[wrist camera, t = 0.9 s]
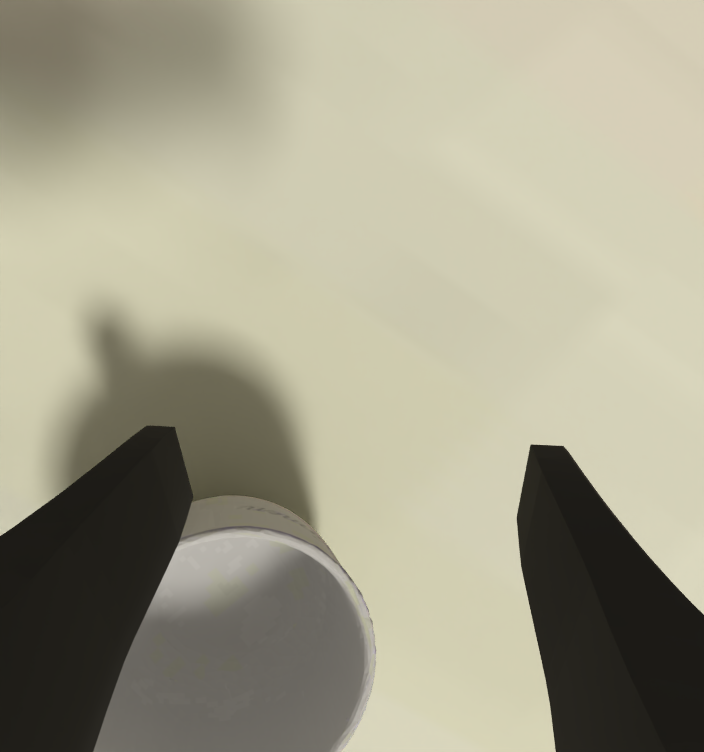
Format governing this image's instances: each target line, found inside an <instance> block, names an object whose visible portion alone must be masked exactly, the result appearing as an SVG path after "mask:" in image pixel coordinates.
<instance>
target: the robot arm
mask: <svg viewBox="0 0 704 752" xmlns="http://www.w3.org/2000/svg"><path fill="white" fill-rule="evenodd" d="M192 500H193V494H192V490H191V487H190V483H189V479H188V475H187V472H186V468H185V464H184V460H183V457H182V453H181V449H180V445H179V442H178V438H177V434H176V430H175V427H164V426H146V427H144V428H143V429H142V430H140V431H139V432H138V433H136V434H135V435H134V436H132V437H131V438H130V439H129V440H127V441H126V442H125V443H123V444H122V445H121V446H120V447H118V448H117V449H116V450H115V451H113V452H112V453H111V454H110V455H108V456H107V457H106V458H105V459H103V460H102V461H101V462H100V463H99V464H97V465H96V466H95V467H93V468H92V469H91V470H90V471H88V472H87V473H86V474H85V475H83V476H82V477H81V478H79V479H78V480H77V481H76V482H74V483H73V484H72V485H71V486H69V487H68V488H67V489H65V490H64V491H63V492H61V493H60V494H59V495H57V496H56V497H55V498H53V499H52V500H50V501H49V502H48V503H46V504H45V505H44V506H42V507H41V508H39V509H38V510H37V511H35V512H34V513H33V514H31V515H30V516H28V517H27V518H26V519H24V520H23V521H22V522H20V523H19V524H17V525H16V526H15V527H13V528H12V529H10V530H9V531H7V532H6V533H4V534H3V535H1V536H0V752H93V751H94V748H95V745H96V742H97V739H98V736H99V733H100V730H101V727H102V724H103V721H104V718H105V715H106V712H107V709H108V706H109V703H110V701H111V698H112V695H113V692H114V689H115V687H116V684H117V681H118V678H119V675H120V672H121V670H122V667H123V664H124V661H125V659H126V657H127V654H128V652H129V650H130V647H131V645H132V643H133V640H134V638H135V636H136V634H137V632H138V629H139V627H140V625H141V623H142V621H143V619H144V617H145V615H146V612H147V610H148V608H149V606H150V604H151V602H152V600H153V598H154V595H155V593H156V591H157V589H158V587H159V585H160V583H161V581H162V578H163V576H164V574H165V572H166V570H167V568H168V565H169V563H170V561H171V559H172V557H173V555H174V552H175V550H176V548H177V546H178V543H179V541H180V538H181V535H182V532H183V529H184V526H185V523H186V520H187V516H188V513H189V510H190V506H191V503H192ZM517 526H518V538H519V548H520V558H521V567H522V572H523V577H524V581H525V586H526V591H527V595H528V600H529V605H530V609H531V614H532V619H533V623H534V628H535V632H536V637H537V641H538V646H539V651H540V655H541V660H542V664H543V669H544V674H545V678H546V684H547V689H548V695H549V701H550V707H551V715H552V724H553V732H554V740H555V748H556V752H704V615H703V614H702V613H701V612H700V611H699V610H698V609H697V608H696V607H695V606H694V605H693V604H692V603H691V602H690V601H689V600H688V599H687V598H686V597H685V595H684V594H683V593H682V592H681V591H680V590H679V589H678V588H677V587H676V586H675V585H674V584H673V583H672V582H671V581H670V580H669V578H668V577H667V576H666V575H665V574H664V573H663V572H662V571H661V570H660V568H659V567H658V566H657V565H656V564H655V563H654V562H653V561H652V559H651V558H650V557H649V556H648V555H647V554H646V553H645V551H644V550H643V549H642V548H641V547H640V546H639V544H638V543H637V542H636V541H635V540H634V538H633V537H632V536H631V535H630V533H629V532H628V531H627V530H626V528H625V527H624V526H623V525H622V523H621V522H620V521H619V520H618V519H617V517H616V516H615V515H614V514H613V512H612V511H611V510H610V508H609V507H608V506H607V504H606V503H605V502H604V501H603V499H602V498H601V497H600V495H599V494H598V493H597V491H596V490H595V488H594V487H593V486H592V484H591V483H590V482H589V480H588V479H587V477H586V476H585V475H584V473H583V472H582V470H581V469H580V468H579V466H578V465H577V463H576V462H575V461H574V459H573V458H572V456H571V455H570V453H569V452H568V451H567V450H566V449H565V447H564V446H550V445H531V446H530V451H529V456H528V461H527V467H526V472H525V477H524V482H523V487H522V493H521V498H520V503H519V508H518V513H517Z"/></svg>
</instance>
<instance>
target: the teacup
mask: <svg viewBox="0 0 704 752" xmlns="http://www.w3.org/2000/svg"><path fill="white" fill-rule="evenodd" d="M375 663H376V647H375V635H374V631H373V623H372V620H371V618H370V616H369V611H368V608H367V606H366V604H365V601H364V599H363V596H362V594H361V592H360V591H359V589H358V588H357V586H356V585H355V583H354V582H353V580H352V579H351V578H350V576H349V575H348V574H347V572H346V571H345V570H344V569H343V568H342V566H341V565H340V563H339V562H338V560H337V558H336V557H335V555H334V554H333V552H332V551H331V549H330V548H329V547H328V545H327V544H326V543H325V541H324V540H323V539H322V538H321V536H320V535H319V534H318V533H317V532H316V531H315V530H314V529H313V528H312V527H311V526H310V525H309V524H308V523H307V522H306V521H304V520H303V519H302V518H301V517H299V516H298V515H296V514H294V513H293V512H291V511H290V510H288V509H286V508H284V507H282V506H280V505H277V504H275V503H273V502H270V501H267V500H263V499H259V498H255V497H249V496H240V495H225V496H216V497H210V498H205V499H201V500H197V501H194V502H192V503H191V506H190V510H189V513H188V516H187V520H186V523H185V526H184V529H183V532H182V535H181V538H180V541H179V543H178V546H177V548H176V550H175V552H174V555H173V557H172V559H171V561H170V563H169V565H168V568H167V570H166V572H165V574H164V576H163V578H162V581H161V583H160V585H159V587H158V589H157V591H156V593H155V595H154V598H153V600H152V602H151V604H150V606H149V608H148V610H147V612H146V615H145V617H144V619H143V621H142V623H141V625H140V627H139V629H138V632H137V634H136V636H135V638H134V640H133V643H132V645H131V647H130V650H129V652H128V654H127V657H126V659H125V661H124V664H123V667H122V670H121V672H120V675H119V678H118V681H117V684H116V687H115V689H114V692H113V695H112V698H111V701H110V703H109V706H108V709H107V712H106V715H105V718H104V721H103V724H102V727H101V730H100V733H99V736H98V739H97V742H96V745H95V748H94V751H93V752H341V751H342V750H343V749H344V748H345V746H346V745H347V743H348V742H349V740H350V739H351V737H352V735H353V734H354V732H355V730H356V728H357V726H358V724H359V722H360V721H361V718H362V715H363V713H364V711H365V709H366V705H367V702H368V699H369V697H370V694H371V689H372V685H373V680H374V673H375Z"/></svg>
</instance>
